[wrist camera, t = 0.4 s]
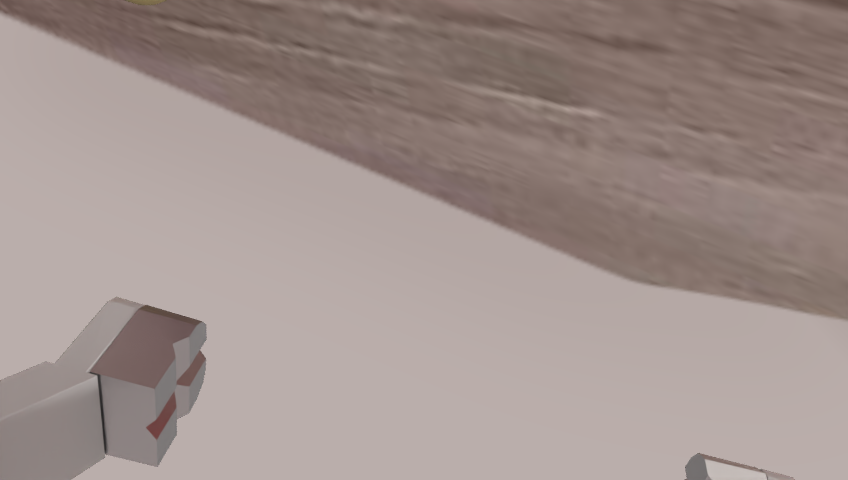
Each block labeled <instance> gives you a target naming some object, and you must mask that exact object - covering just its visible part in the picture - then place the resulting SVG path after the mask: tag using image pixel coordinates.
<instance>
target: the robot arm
mask: <svg viewBox="0 0 848 480" xmlns="http://www.w3.org/2000/svg"><path fill="white" fill-rule="evenodd" d="M205 341H206V324H205V323H204V322H202V321H199V320H195V319H192V318H189V317H185V316H182V315H179V314H175V313H172V312H168V311H165V310H162V309H158V308H155V307H151V306H148V305H142V304H139V303H136V302H132V301H129V300H125V299H122V298H119V297H115V298H114V299H112V300H110V301H108V302H107V303H106V304H105V305H104V306H103V308H102V309H101V310H100V311H99V312H98V314H97V315H96V316H95V317H94V318H93V319H92V320H91V322H90V323H89V324H88V325H87V326H86V327H85V329H84V330H83V331H82V332H81V333H80V334H79V336H78V337H77V338H76V339H75V340H74V341H73V343H72V344H71V345H70V346H69V347H68V349H67V350H66V351H65V352H64V353H63V354H62V356H61V357H60V358H59V359H58V360H57V361H56V363H55V364H54V363H50V362H43V363H41V364H38V365H36V366H33V367H31V368H29V369H26V370H24V371H21V372H19V373H17V374H14V375H12V376H9V377H7V378H4V379H2V380H0V480H71V479H73V478H74V477H76V476H77V475H79V474H80V473H82V472H83V471H85V470H87V469H88V468H90V467H91V466H93V465H94V464H96V463H97V462H99V461H100V460H102V459H104V458H105V454H106V455H110V456H115V457H119V458H123V459H127V460H131V461H135V462H139V463H143V464H147V465H151V466H156V467H158V465H159V463H160V462H161V460H162V458H163V456H164V455H165V453H166V451H167V450H168V448H169V446H170V445H171V443H172V441H173V440H174V438H175V436H176V434H177V419H178V418H181V417H183V416H185V415H186V414H188V413H189V412H190V410H191V408H192V407H193V405H194V403H195V401H196V400H197V397H198V394H199V392H200V389H201V386H202V384H203V380H204V375H205V369H206V358H205V357H204V355H203V354H202V352H201V351H200V349H201V347H202V345H203V344H204V342H205ZM685 469H686V477H687V479H685V480H795V479H794V478H793V477H790V476H786V475H782V474H778V473H774V472H770V471H767V470H763V469H758V468H755V467H751V466H747V465H743V464H739V463H736V462H731V461H728V460H723V459H720V458H716V457H712V456H708V455H704V454H700V453H697V454H696V455H694V456H693V457H692V458H691V459H690V460H689V462H688V463H687V465H686V467H685Z"/></svg>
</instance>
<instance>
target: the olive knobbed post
mask: <svg viewBox="0 0 848 480" xmlns="http://www.w3.org/2000/svg"><path fill="white" fill-rule="evenodd" d="M125 1H128V2H132V3H135V4H138V5H155V4H158V3H161V2H164V1H166V0H125Z"/></svg>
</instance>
